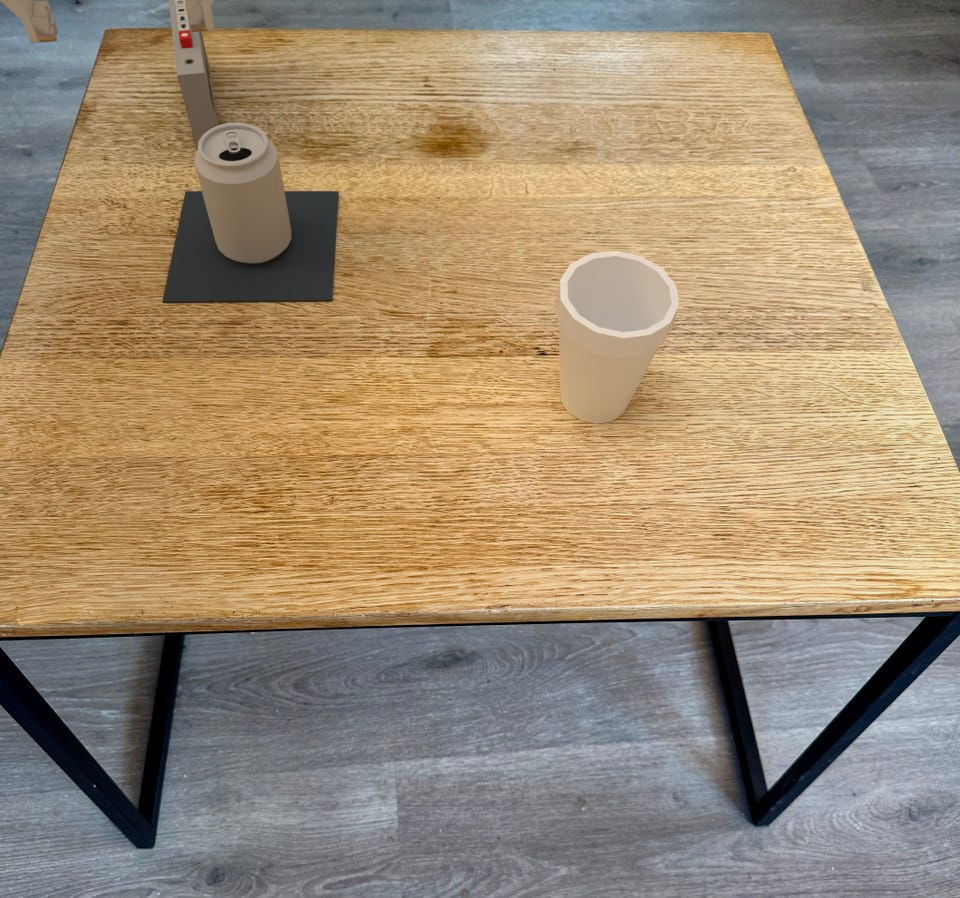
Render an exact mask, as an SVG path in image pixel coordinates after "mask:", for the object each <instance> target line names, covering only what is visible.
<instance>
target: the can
mask: <svg viewBox="0 0 960 898" xmlns="http://www.w3.org/2000/svg"><path fill="white" fill-rule="evenodd" d="M279 157H280V156H279V152H278V150H277V148H276V146H275V144H274V143H273V142H272V141H270V140H269V137H268V136H267V134H266V132H265V131H264V130H262V129H261V128H260V127H258V126H255V125H254V124H250V123H244V122H227V123H222V124H218V126H216V127H214V128H212V129H210V130H208V131H207V132H206V133H205V134H204V135H202V137H201V139H200V140H199V142H198V150H196V153H195V154H194V161H193V162H194V163H193V164H194V167H195V168H194V169H195V171H196V175H197V179H198V182H199V186H200V189H201V190H200V191H202V194H203V197H204V201H205V205H206V208H207V212H208V216H209V219H210V223H211V227H212V231H213V234H214V238H215V242H216V244H217V247H218V249H219V251H221V252H222V253H223V254H224V255H225V256H226V257H228V258H230V259H233V260H235V261H239V262H243V263H249V264H254V263H262V262H266V261H269V260H271V259H273V258H274V257H276V256H277V255H279V254H281V253H282V252H283V251H284V250H285V249H286V248H287V247H288V245H289V243H290V241H291V225H290V220H289V214H288V208H287V203H286V197H285V191H286V190H285V187H284V181H283V175H282V168H281V164H280V158H279Z"/></svg>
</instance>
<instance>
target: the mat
mask: <svg viewBox="0 0 960 898" xmlns="http://www.w3.org/2000/svg"><path fill="white" fill-rule="evenodd" d="M284 191H285V197H286V203H287V208H288V214H289V220H290V225H291V241H290V243H289V245H288V247H287V248H286V249H285V250H284V251H283V252H282V253H281V254H279V255H277V256H276V257H274V258H273V259H271V260H269V261H266V262H262V263H254V264H249V263H243V262H239V261H235V260H233V259H230V258H228V257H226V256H225V255H224V254H223V253H222V252H221V251H219V249H218V247H217V244H216V242H215V238H214V234H213V231H212V227H211V223H210V219H209V216H208V212H207V208H206V205H205V201H204V197H203V194H202V190H185V191H184V196H183V201H182V205H181V210H180V215H179V220H178V225H177V229H176V235H175V239H174V244H173V248H172V254H171V258H170V263H169V268H168V273H167V278H166V282H165V287H164V292H163V297H162V303H163V304H176V303H177V304H179V303H182V304H183V303H187V304H189V303H191V304H193V303H196V304H197V303H293V302H294V303H296V302H298V303H300V302H301V303H302V302H305V303H307V302H308V303H309V302H312V303H313V302H315V303H316V302H333V295H334V294H333V293H334V280H335V279H334V278H335V277H334V276H335V264H336V263H335V260H336V244H337V243H336V242H337V227H338V212H339V211H338V210H339V209H338V208H339V193H340V192H339V191H338V190H284Z"/></svg>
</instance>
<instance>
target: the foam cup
mask: <svg viewBox="0 0 960 898" xmlns="http://www.w3.org/2000/svg"><path fill="white" fill-rule="evenodd" d="M557 290H558V291H557V295H556V321H557V323H558V330H559V331H558V345H559V346H558V349H559V351H558V353H559V355H558V356H559V363H558V364H559V401H560V402H561V404H562V406H563V407H564V409H565V410H566V412H567V413H569V414H570V415H572V416H573V417H575V418H576V419H578V420H579V421H581V422H587V423H589V424H590V423H591V424H595V425H597V424H605V423H610V422H614V421H615V420H616V419H618V418H620V417H622V416H623V415H624V414H625V412H626V410H627V408H628V406H629V405H630V402H631V400H632V399H633V396H634V395H635V393H636V391H637V389H638V387H639V385H640V383H641V382H642V380H643V378H644V376H645V374H646V373H647V370H648V368H649V366H650V364H651V362H652V361H653V359H654V357H655V355H656V354H657V352H658V349H659V348H660V347H661V346H662V345H664V344H665V341H666V339H667V338H668V336H669V334H670V333H671V330H672V328H673V326H674V323H675V320H676V318H677V315H678V311H679V308H680V301H679V294H678V287H677V284H676V283H675V282H674V281H673V280H672V278H671V277H670V276H669V274H668V273H667V272H666V270H665V269H664V268H663V267H661V266H660V265H657V264H656V263H654V262H652V261H650V260H649V259H647V258H645V257H643V256H642V255H639V254H638V255H637V254H633V253H628V252H623V251H616V250H610V251H602V252H591V253H588V254H587V255H585V256H583V257H581V258H579V259H577V260H576V261H573V262H572V263H570V264H569V266H568V267H567V269H566V270H565V271H564V273H563V275H562V276H561V278H560V279H559V283H558V289H557Z"/></svg>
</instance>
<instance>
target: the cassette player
mask: <svg viewBox="0 0 960 898" xmlns="http://www.w3.org/2000/svg"><path fill="white" fill-rule="evenodd" d="M167 1H168V7H169V8H168V9H169V17H170V18H169V19H170V25H171V33H172V34H171V35H172V43H173V52H174V59H175V61H174V62H175V69H176V77H177V80H178V84H179V88H180V91H181V95H182V99H183V103H184V107H185V111H186V114H187V118H188V121H189V125H190V129H191V133H192V137H193V140H194V144H195V148H196V151H198V142H199V140H200V139H201V137H202V135H204V134H205V133H206V132H207V131H208V130H210V129H212V128H214V127H216V126H218V125H219V120H218V119H219V118H218V113H217V106H216V99H215V94H214V92H215V91H214V85H213V80H212V73H211V67H210V63H209V58H208V54H207V49H206V45H205V41H204V36H203V31H200V32H191V29H190V24H189V18H188V15H187V10H186V3H185V2H186V1H185V0H167Z"/></svg>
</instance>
